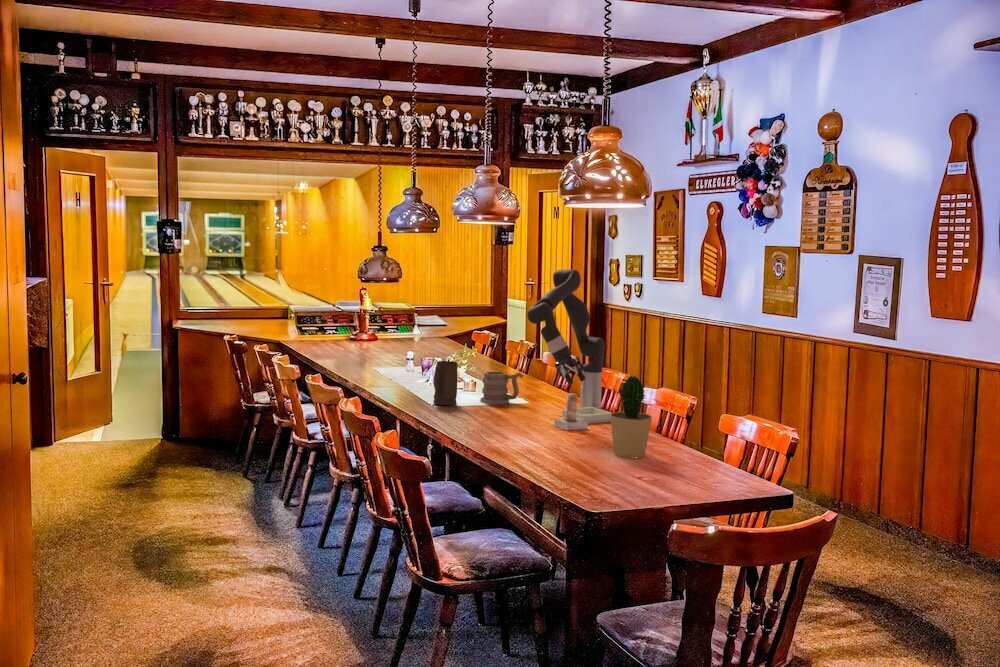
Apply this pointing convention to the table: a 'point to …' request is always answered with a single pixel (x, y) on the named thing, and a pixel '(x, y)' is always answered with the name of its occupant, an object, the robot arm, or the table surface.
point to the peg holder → (571, 424)
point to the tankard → (499, 387)
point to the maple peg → (571, 407)
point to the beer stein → (445, 383)
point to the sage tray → (591, 414)
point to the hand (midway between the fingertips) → (577, 382)
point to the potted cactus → (631, 421)
